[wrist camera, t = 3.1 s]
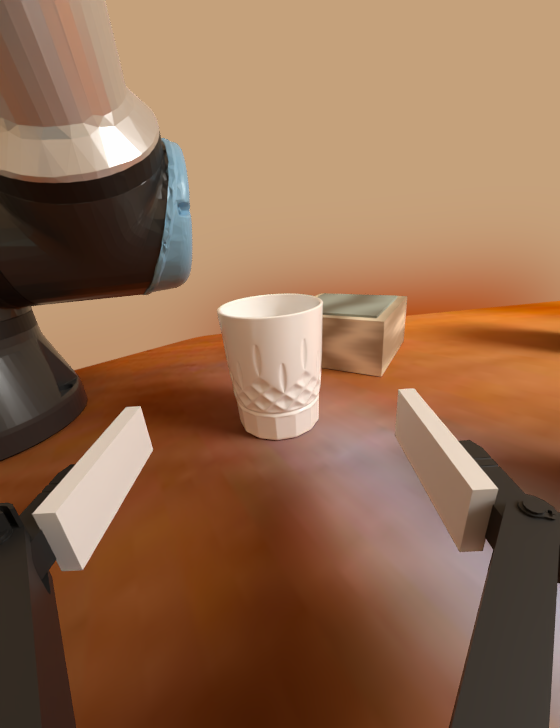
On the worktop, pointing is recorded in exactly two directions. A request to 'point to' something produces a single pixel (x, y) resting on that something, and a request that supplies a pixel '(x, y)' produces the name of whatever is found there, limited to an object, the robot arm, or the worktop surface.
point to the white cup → (274, 361)
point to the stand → (361, 331)
